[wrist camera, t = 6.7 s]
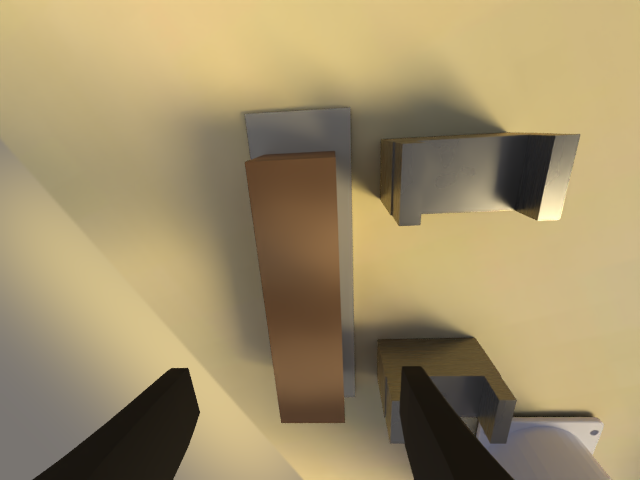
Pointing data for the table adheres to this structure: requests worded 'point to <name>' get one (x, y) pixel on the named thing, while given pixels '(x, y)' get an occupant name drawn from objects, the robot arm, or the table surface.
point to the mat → (335, 135)
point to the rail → (300, 280)
